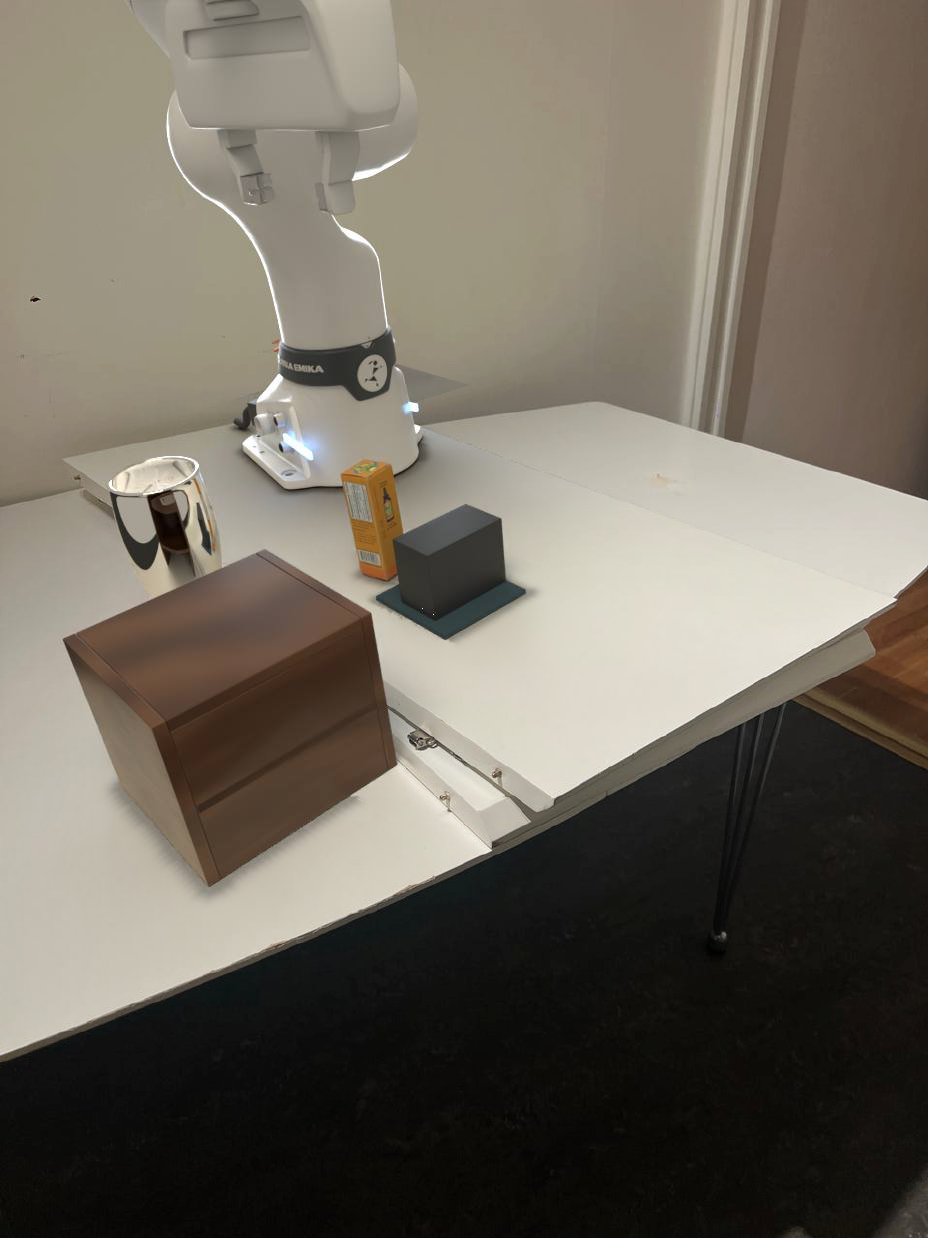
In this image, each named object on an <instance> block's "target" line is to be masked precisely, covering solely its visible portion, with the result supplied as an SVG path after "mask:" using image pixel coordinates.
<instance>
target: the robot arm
mask: <svg viewBox="0 0 928 1238" xmlns="http://www.w3.org/2000/svg"><path fill="white" fill-rule="evenodd" d="M122 1H123V3H124V4H125V6H126V7H127V8H128V9H129V11H130V12H131V14H132V15H133V16H134V17H135V19H136V20H137V21H138V22H139V24H140V26H142V28H143V29H144V31H146V32H147V34H149V36H150V37H151V39H153V41H154V42H155V43H156V44H157V46H158V47H159V48H160V49H161V50H162V52H163V53H164V55H165V56H166V57H167V58H168V59H169V61H170V68H171V74H172V78H173V85H174V90H173V92H172V95H171V98H170V100H169V103H168V109H167V114H166V135H167V140H168V141H167V142H168V147H169V149H170V152H171V155H172V158H173V160H174V163H175V164H176V167H177V169H178V170H179V172H180V173H181V175H182V176H183V178H184V179H185V180H186V181H187V183H188V184H189V185H190V186H191V187H192V188H193V189H194V190H195V191H196V192H197V193H198V194H199V195H201V196H202V197H203V198H205V199H207V200H208V201H210V202H212V203H214V204H216V205H217V206H218V207H220V208H221V209H223V210H224V211H225V212H226V213H227V214H228V215H230V216H231V217H232V218H233V219H234V220H235V222H236V223H237V224H238V225H239V226H240V227H241V228H242V229H243V231H244V232H245V234H246V235H247V237H248V238H249V240H250V241H251V242H252V243H251V244H252V245H253V246H254V248H255V250H256V252H257V253H258V256H259V258H260V260H261V263H262V266H263V268H264V270H265V274H266V277H267V281H268V285H269V288H270V292H271V296H272V300H273V305H274V309H275V313H276V318H277V322H278V327H279V331H280V337H281V338H280V339H276V340H273V341H272V342H271V344H272V345H275V344H278V346H277V347H276V348H274V349H273V352H274V353H277V352H278V354H277V372H278V374H277V375H276V377H275V378H274V380H272V381H271V383H270V384H269V385H268V387H267V388H266V389H265V390H264V391H263V392H262V393H261V395H260V396H259V397H257V398H255V399H252V400H250V401H248V402H247V403H246V404H247V405H246V406H245V407H244V409H243V410H242V418H240V417H235V418H234V419H233V424H234V425H235V426H237V427H238V428H241V429H248V428H249V427H250V425H251V426H253V427H255V429H256V431H257V432H254V433H253V434H251V435H250V436H249V437H247V438H246V439H245V440H244V441H243V442H242V451H243V453H245V454H246V455H247V456H248V457H249V458H250V459H251V460H253V461H254V462H255V463H256V464H257V465H258V466H259V467H260V468H261V469H262V470H264V471H265V472H266V473H267V474H268V475H269V476H270V477H271V478H272V479H273V480H275V482H276V483H278V484H279V485H280V486H281V487H282V488H284V489H285V490H299V489H307V488H313V487H343V485H342V480H341V475H340V474H341V473H342V472H344V471H346V470H347V469H349V468H350V467H352V466H354V465H355V464H357V463H358V462H360V461H361V460H363V459H365V460H373V461H379V462H384V463H390V464H391V465H392V470H393V476H394V475H397V474H399V473H401V472H404V471H405V470H406V469H408V468H410V467H411V465H413V464H414V463H415V461H416V460H417V459H418V457H419V455H420V449H419V446H418V444H419V442H420V441H421V439H422V438H423V431H422V427H421V426H420V425H418V424H415V421H414V417H413V413H412V412H414V413H415V412H416V413H417V412H419V404H418V403H417V402H416V403H415V402H411V401H410V398H409V394H408V389H407V385H406V381H405V376H404V373H403V372H402V370H401V369H400V368H398V367H396V366H395V364H396V363H397V353H396V340H395V338H394V334H393V330H392V327H391V326H390V325H389V324H388V320H387V313H386V312H387V311H386V305H385V296H384V290H383V282H382V274H381V267H380V260H379V256H378V254H377V252H376V251H375V249H374V247H373V246H372V245H371V244H370V242H369V241H368V240H367V239H365V238H364V237H363V236H361V235H359V234H358V233H356V232H354V231H352V230H350V229H347V228H344V227H342V226H341V225H340V224H339V222H338V221H337V220H336V218H335V216H341V215H346V214H351V213H352V212H354V210H355V209H356V198H355V191H354V184H353V181H356V180H361V179H365V178H369V177H372V176H374V175H376V174H378V173H380V172H382V171H384V170H386V169H388V168H389V167H391V166H393V165H394V164H396V163H397V162H399V161H401V160H403V159H405V158H406V157H407V155H409V154H410V152H411V151H412V149H413V147H414V145H415V143H416V141H417V138H418V133H419V129H420V117H421V116H420V115H421V113H420V104H419V99H418V95H417V91H416V87H415V85H414V83H413V81H412V79H411V77H410V75H409V73H408V72H407V70H406V69H405V67H404V66H403V64H401V63H400V62H399V54H398V45H397V37H396V30H395V29H396V28H395V22H394V21H395V20H394V15H393V8H392V1H391V0H122Z"/></svg>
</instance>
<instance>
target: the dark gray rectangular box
mask: <svg viewBox="0 0 928 1238" xmlns="http://www.w3.org/2000/svg"><path fill="white" fill-rule="evenodd" d="M503 532H504V531H503V520H502V518H501V517H499V516H496V515H494V514H491V513H489V512H487V511H484V510H483V509H480V508H477V507H475V506H472V505H470V504H468V503H464V504H462V505H460V506H458V507H456V508H454V509H452V510H449V511H447V512H445V513H443V514H441V515H440V516H437V517H435V518H433V519H431V520H429V521H427V522H425V523H423V524H421V525H419V526H416V527H414V528H413V529H411V530H408V531H406V532H403V533H404V534H402V535H400V536H398V537H396V538H394V539H392V541H393V548H394V554H395V561H396V568H397V573H396V574H397V581H398V584H399V588H400V595H401V602H402V603H404V604H406V605H408V606H409V607H411V608H413V609H415V610H417V611H418V612H420V613H422V614H424V615H426V616H427V617H429V618H431V619H433V620H435V621H436V620H438V619H440V618H442V617H443V616H445V615H447V614H449V613H450V612H452V611H454V610H456V609H458V608H459V607H461V606H463V605H465V604H466V603H468V602H470V601H472V600H473V599H475V598H477V597H479V596H481V595H482V594H484V593H486V592H488V591H489V590H491V589H493V588H495V587H496V586H498V585H500V584H502V583H504V582H505V581H506V580H507V575H506V561H505V560H506V559H505V547H504V533H503ZM422 608H423V609H422ZM433 614H434V615H433Z"/></svg>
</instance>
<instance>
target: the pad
mask: <svg viewBox="0 0 928 1238" xmlns="http://www.w3.org/2000/svg"><path fill="white" fill-rule="evenodd" d="M526 593H527V590H526V588H524V587H522V586H520V585H518V584H515V583H513V582H511V581H509V580H507V579H506V581H505V582H504V583H502V584H500V585H498V586H496V587H495V588H493V589H491V590H489V591H488V592H486V593H484V594H482V595H481V596H479V597H477V598H475V599H473V600H472V601H470V602H468V603H466V604H465V605H463V606H461V607H459V608H458V609H456V610H454V611H452V612H450V613H449V614H447V615H445V616H443V617H442V618H440V619H438V620H436V621H435V620H433V619H431V618H429V617H427V616H426V615H424V614H422V613H420V612H418V611H417V610H415V609H413V608H411V607H409V606H408V605H406V604H404V603H402V602H401V595H400V588H399V583H398V584H396V585H394V586H392V587H391V588H388V589H386V590H384V591H383V592H381V593H378V594H377V595H375V601H378V602H379V603H381V604H383V605H384V606H386V607H388V608H390V609H391V610H393V611H395V612H397V613H399V614H400V615H402V616H403V617H406V618H407V619H409V620H410V621H412V622H414V623H416V624H417V625H419V626H421V627H423V628H424V629H426V630H427V631H429V632H431V633H432V634H434V635H437V636H438V637H440V638H442V639H443V640H447V639H449V638H452V636H454V635H456V634H457V633H460V632H461V631H463V630H464V629H466V628H468V627H470V626H471V625H474V624H475V623H477V622H479V621H480V620H482V619H484V618H485V617H487V616H490V614H492V613H494V612H496V611H498V610H499V609H501V608H503V607H504V606H506V605H508V604H510V603H511V602H513V601H515V600H517V599H518V598H520V597H522V596H524V595H525V594H526Z"/></svg>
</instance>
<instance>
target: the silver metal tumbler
mask: <svg viewBox="0 0 928 1238" xmlns="http://www.w3.org/2000/svg"><path fill="white" fill-rule="evenodd" d="M106 489H107V492H108V495H109V500H110V504H111V508H112V512H113V517H114V520H115V524H116V528H117V531H118V534H119V538H120V541H121V543H122V547H123V549H124V551H125V554H126V556H127V558H128V560H129V562H130V565H131V567H132V569H133V571H134V572H135V574H136V576H137V579H139V581H140V584H141V585H142V587H143V589H144V590H145V592H146V594H147V595H148V597H149V600H151V599H153V598H156V597H158V596H160V595H162V594H164V593H167V592H169V591H171V590H173V589H176V588H178V587H180V586H182V585H185V584H187V583H189V582H191V581H194V580H196V579H198V578H200V577H203V576H205V575H207V574H209V573H212V572H214V571H216V570H218V569H221V568H223V562H222V558H223V557H222V548H221V538H220V531H219V527H218V521H217V518H216V514H215V510H214V507H213V503H212V500H211V498H210V493H209V492H208V489H207V485H206V483H205V480H204V478H203V475H202V472H201V469H200V464H199V463H198V462H197V461H196V460H195V459H192V458H189V457H185V456H177V455H176V456H172V455H171V456H160V457H152V458H148V459H144V460H140V461H137V462H133V463H131V464H129V465H127V466H125V467H123V468H120V469H119V470H117V471H115V472H114V473H113V474H112V475H111V476H109V478H108V479H107V482H106Z"/></svg>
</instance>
